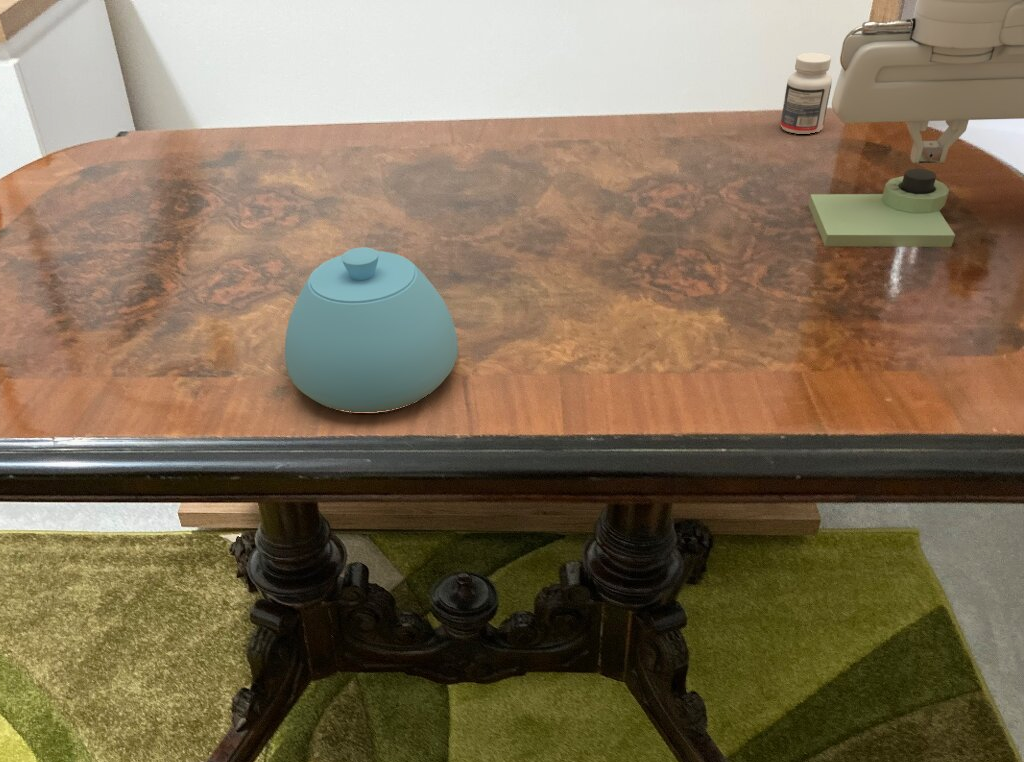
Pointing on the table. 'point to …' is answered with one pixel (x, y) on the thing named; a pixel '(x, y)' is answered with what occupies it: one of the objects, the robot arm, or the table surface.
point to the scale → (883, 218)
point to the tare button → (918, 181)
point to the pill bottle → (807, 94)
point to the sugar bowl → (369, 333)
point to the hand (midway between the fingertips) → (926, 161)
